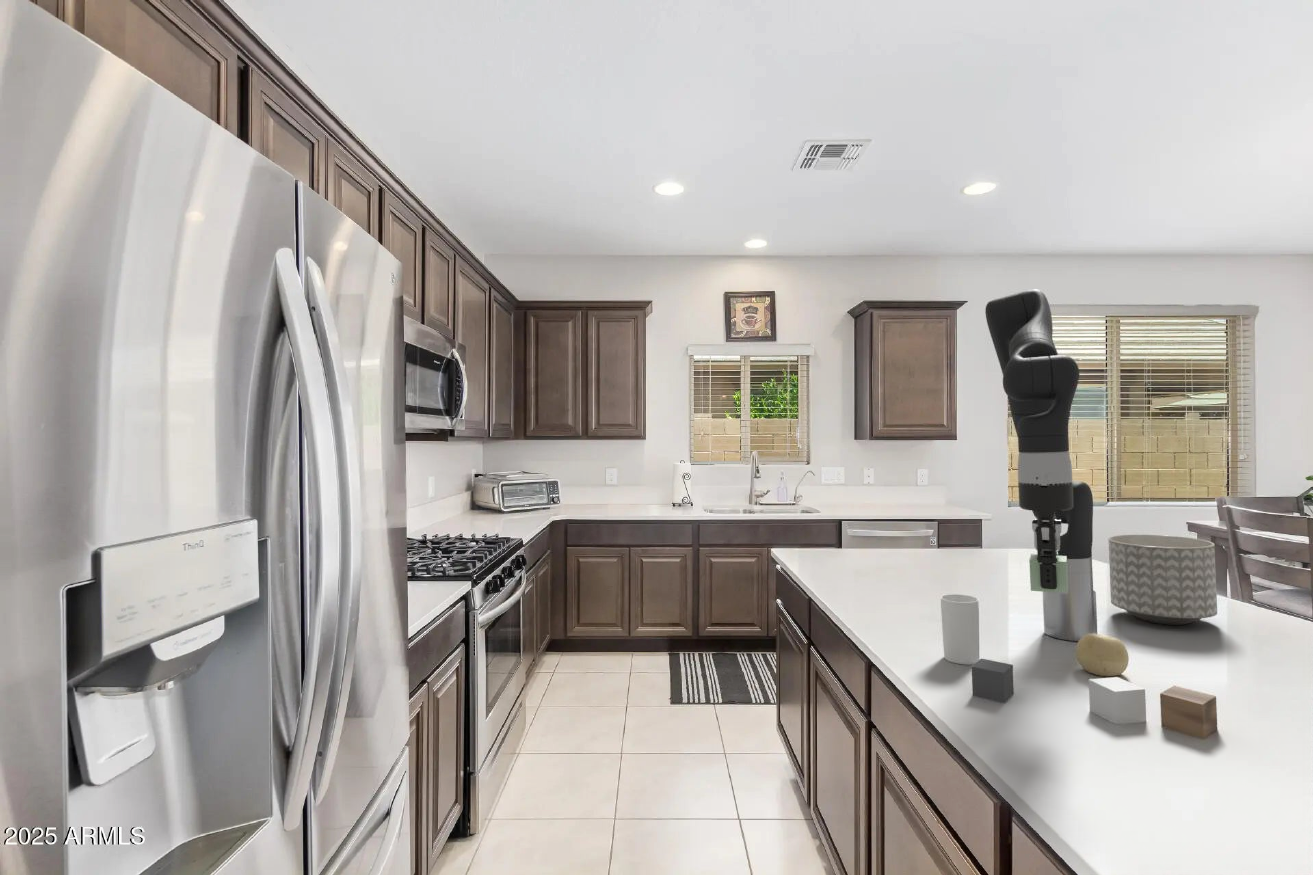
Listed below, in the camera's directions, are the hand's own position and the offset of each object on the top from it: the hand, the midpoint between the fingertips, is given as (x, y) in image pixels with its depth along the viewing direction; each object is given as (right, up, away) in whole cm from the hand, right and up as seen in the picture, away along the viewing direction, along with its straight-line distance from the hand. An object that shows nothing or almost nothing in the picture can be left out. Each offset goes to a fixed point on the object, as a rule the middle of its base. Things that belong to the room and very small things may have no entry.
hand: (1049, 584), depth 103 cm
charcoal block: (-7, -20, +5) cm, 21 cm away
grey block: (+8, -19, -5) cm, 21 cm away
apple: (+18, -19, +13) cm, 29 cm away
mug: (-3, -20, +23) cm, 31 cm away
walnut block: (+15, -19, -9) cm, 26 cm away
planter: (+52, -18, +42) cm, 69 cm away
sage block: (0, -1, 0) cm, 1 cm away
